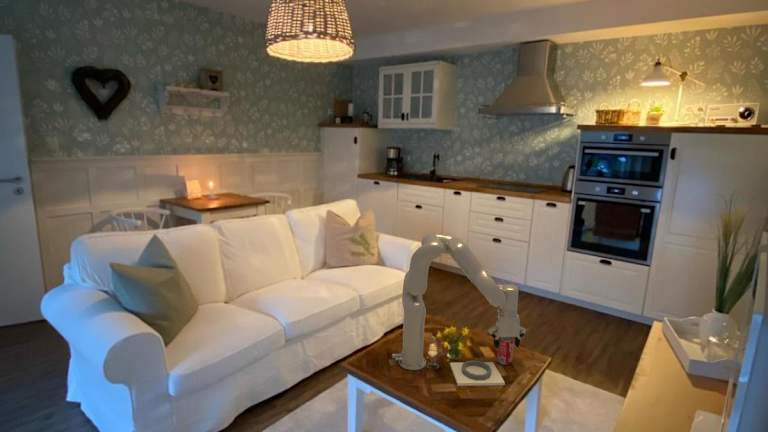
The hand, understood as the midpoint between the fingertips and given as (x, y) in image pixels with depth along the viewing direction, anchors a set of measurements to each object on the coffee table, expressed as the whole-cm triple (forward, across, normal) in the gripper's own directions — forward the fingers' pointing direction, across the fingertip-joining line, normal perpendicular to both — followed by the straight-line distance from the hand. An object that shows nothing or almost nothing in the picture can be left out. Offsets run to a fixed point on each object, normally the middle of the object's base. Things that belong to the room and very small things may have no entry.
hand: (506, 346), depth 188 cm
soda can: (+8, -1, 0) cm, 8 cm away
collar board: (+8, -17, -10) cm, 21 cm away
